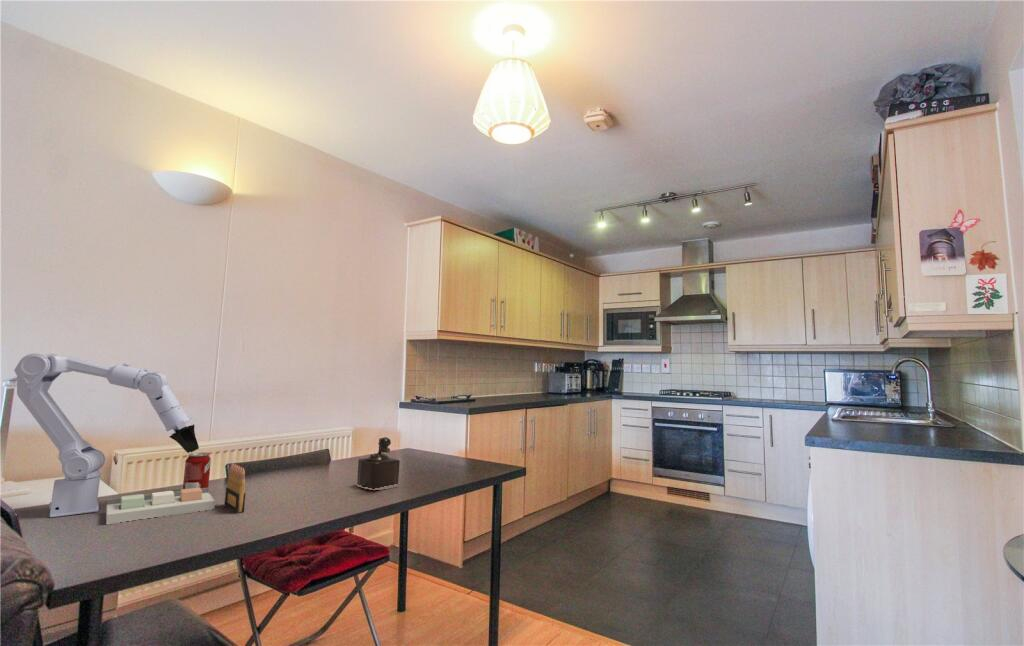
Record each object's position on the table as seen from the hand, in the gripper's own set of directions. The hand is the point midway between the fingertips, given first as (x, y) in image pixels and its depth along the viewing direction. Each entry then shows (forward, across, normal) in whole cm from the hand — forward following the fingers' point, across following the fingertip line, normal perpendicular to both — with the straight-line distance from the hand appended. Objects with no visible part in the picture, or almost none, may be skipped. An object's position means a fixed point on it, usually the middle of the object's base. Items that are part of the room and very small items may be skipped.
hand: (193, 450), depth 138 cm
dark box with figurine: (+41, -9, -39) cm, 57 cm away
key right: (+12, -2, +7) cm, 14 cm away
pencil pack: (+20, -9, 0) cm, 22 cm away
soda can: (+13, +15, +4) cm, 20 cm away
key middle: (+9, -2, +12) cm, 16 cm away
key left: (+6, -2, +18) cm, 19 cm away
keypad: (+10, -2, +13) cm, 17 cm away
